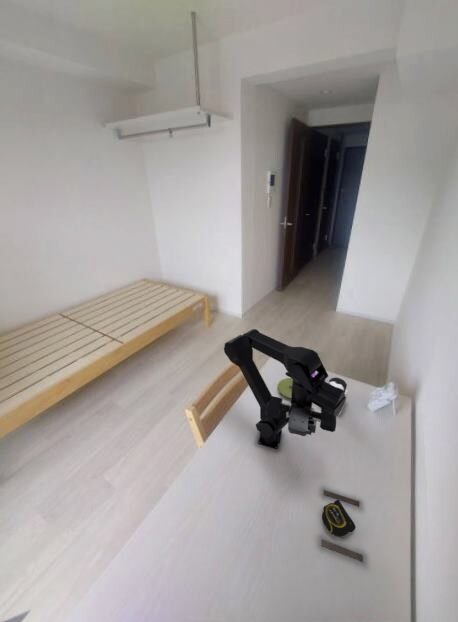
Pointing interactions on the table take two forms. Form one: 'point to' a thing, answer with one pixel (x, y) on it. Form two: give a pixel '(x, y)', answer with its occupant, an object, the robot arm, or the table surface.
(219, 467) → the table surface
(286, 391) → the olive green disc
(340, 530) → the tape measure
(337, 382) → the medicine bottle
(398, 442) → the table surface
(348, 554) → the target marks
